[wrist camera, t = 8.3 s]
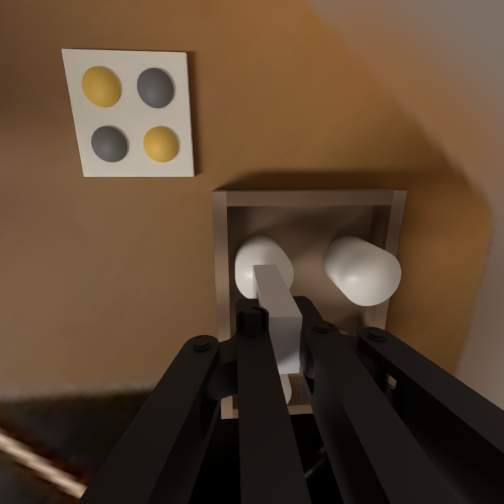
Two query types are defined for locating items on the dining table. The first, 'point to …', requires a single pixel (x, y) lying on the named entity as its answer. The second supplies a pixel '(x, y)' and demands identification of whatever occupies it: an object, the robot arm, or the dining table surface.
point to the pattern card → (131, 112)
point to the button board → (302, 253)
